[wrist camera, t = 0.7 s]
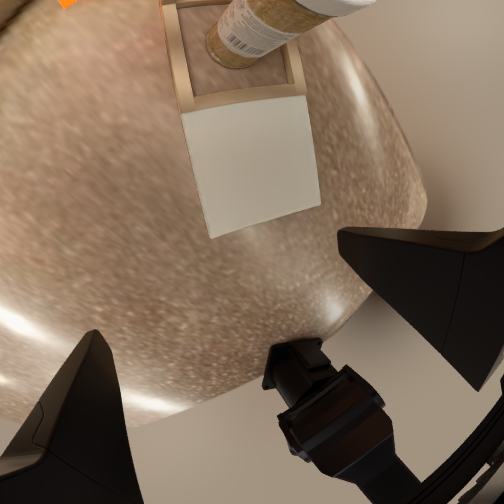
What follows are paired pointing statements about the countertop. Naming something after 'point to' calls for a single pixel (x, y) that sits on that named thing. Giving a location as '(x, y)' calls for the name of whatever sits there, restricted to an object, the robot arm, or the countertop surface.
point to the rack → (188, 103)
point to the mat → (252, 161)
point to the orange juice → (66, 3)
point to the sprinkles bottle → (268, 26)
